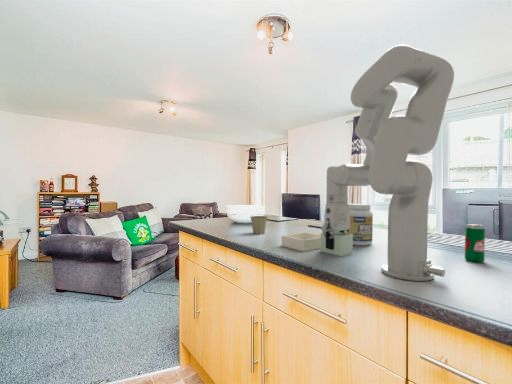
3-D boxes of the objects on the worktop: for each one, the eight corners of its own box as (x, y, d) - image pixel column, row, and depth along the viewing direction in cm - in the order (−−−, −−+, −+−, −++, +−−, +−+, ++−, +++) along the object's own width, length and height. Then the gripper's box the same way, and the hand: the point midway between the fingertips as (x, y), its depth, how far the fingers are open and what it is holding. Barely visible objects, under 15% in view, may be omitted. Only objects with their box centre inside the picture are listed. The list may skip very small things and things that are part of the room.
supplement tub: (356, 247, 107) (356, 205, 107) (336, 241, 119) (336, 203, 118) (378, 245, 112) (379, 204, 112) (357, 239, 123) (358, 203, 123)
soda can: (476, 263, 84) (477, 226, 84) (460, 259, 89) (461, 224, 89) (488, 262, 86) (489, 225, 85) (472, 258, 90) (472, 223, 90)
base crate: (327, 247, 108) (328, 236, 108) (303, 252, 100) (303, 240, 100) (305, 242, 118) (305, 232, 118) (281, 246, 109) (281, 235, 109)
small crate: (352, 253, 97) (352, 234, 97) (340, 256, 93) (341, 236, 93) (332, 248, 104) (332, 231, 104) (320, 251, 100) (320, 232, 100)
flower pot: (247, 232, 141) (247, 216, 141) (263, 231, 145) (263, 215, 145) (254, 235, 132) (254, 218, 132) (271, 234, 136) (271, 217, 136)
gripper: (330, 200, 90) (329, 252, 91) (359, 199, 101) (358, 246, 101) (313, 199, 96) (312, 248, 97) (342, 198, 107) (341, 243, 107)
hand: (336, 247), depth 99 cm, fingers closed on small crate, 7 cm apart
